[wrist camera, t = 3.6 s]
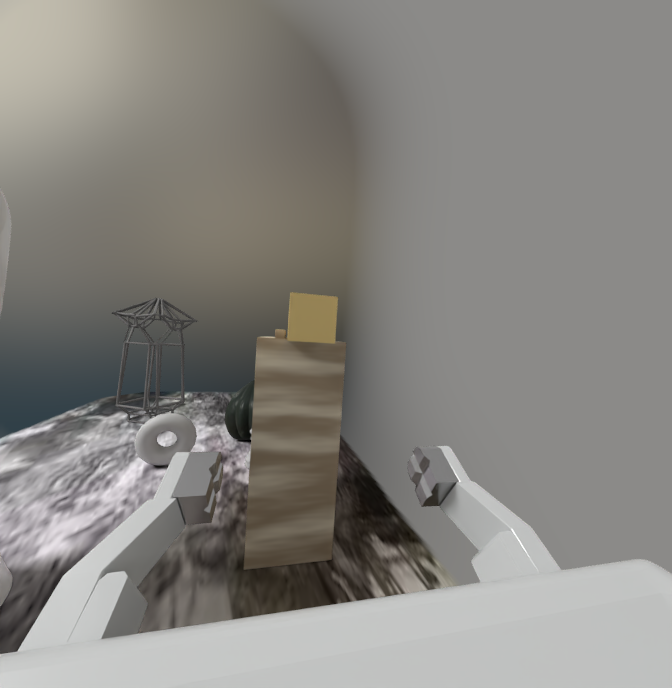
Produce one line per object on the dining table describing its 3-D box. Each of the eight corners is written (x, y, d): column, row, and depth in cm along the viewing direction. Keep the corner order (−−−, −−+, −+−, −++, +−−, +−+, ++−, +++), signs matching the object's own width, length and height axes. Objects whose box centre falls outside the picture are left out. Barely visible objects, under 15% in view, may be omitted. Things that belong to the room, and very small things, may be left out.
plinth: (331, 559, 30) (346, 334, 29) (243, 569, 28) (257, 327, 27) (316, 482, 45) (325, 334, 45) (259, 484, 43) (268, 330, 43)
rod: (334, 343, 19) (337, 297, 19) (287, 340, 18) (290, 292, 18) (307, 339, 44) (308, 319, 44) (287, 337, 43) (288, 317, 43)
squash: (264, 432, 53) (284, 374, 62) (202, 426, 55) (230, 371, 65) (283, 454, 63) (297, 401, 73) (230, 448, 66) (251, 398, 76)
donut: (130, 473, 44) (132, 418, 44) (136, 464, 47) (138, 412, 47) (194, 465, 48) (197, 414, 48) (196, 456, 51) (198, 409, 51)
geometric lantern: (99, 423, 65) (107, 291, 65) (153, 409, 81) (159, 302, 81) (151, 430, 63) (159, 292, 63) (196, 414, 78) (202, 303, 78)
